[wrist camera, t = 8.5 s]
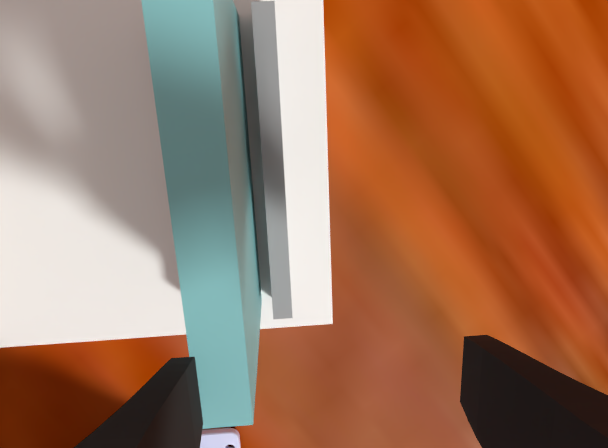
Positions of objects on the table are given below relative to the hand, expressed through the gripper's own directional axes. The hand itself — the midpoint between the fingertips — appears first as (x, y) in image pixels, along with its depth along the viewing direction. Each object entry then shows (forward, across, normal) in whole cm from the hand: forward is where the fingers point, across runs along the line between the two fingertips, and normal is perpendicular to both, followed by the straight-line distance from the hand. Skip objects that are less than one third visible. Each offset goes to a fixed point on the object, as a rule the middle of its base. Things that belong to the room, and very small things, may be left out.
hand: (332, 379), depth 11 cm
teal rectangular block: (+8, +3, -4) cm, 10 cm away
